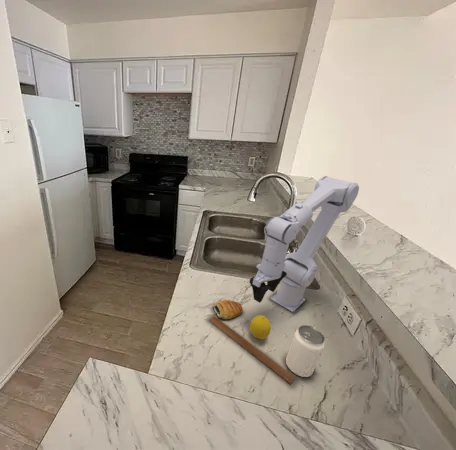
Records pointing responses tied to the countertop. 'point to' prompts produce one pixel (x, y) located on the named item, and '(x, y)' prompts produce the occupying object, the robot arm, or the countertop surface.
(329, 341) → the countertop surface
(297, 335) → the can
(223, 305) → the pastry
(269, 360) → the strip
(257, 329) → the lemon
